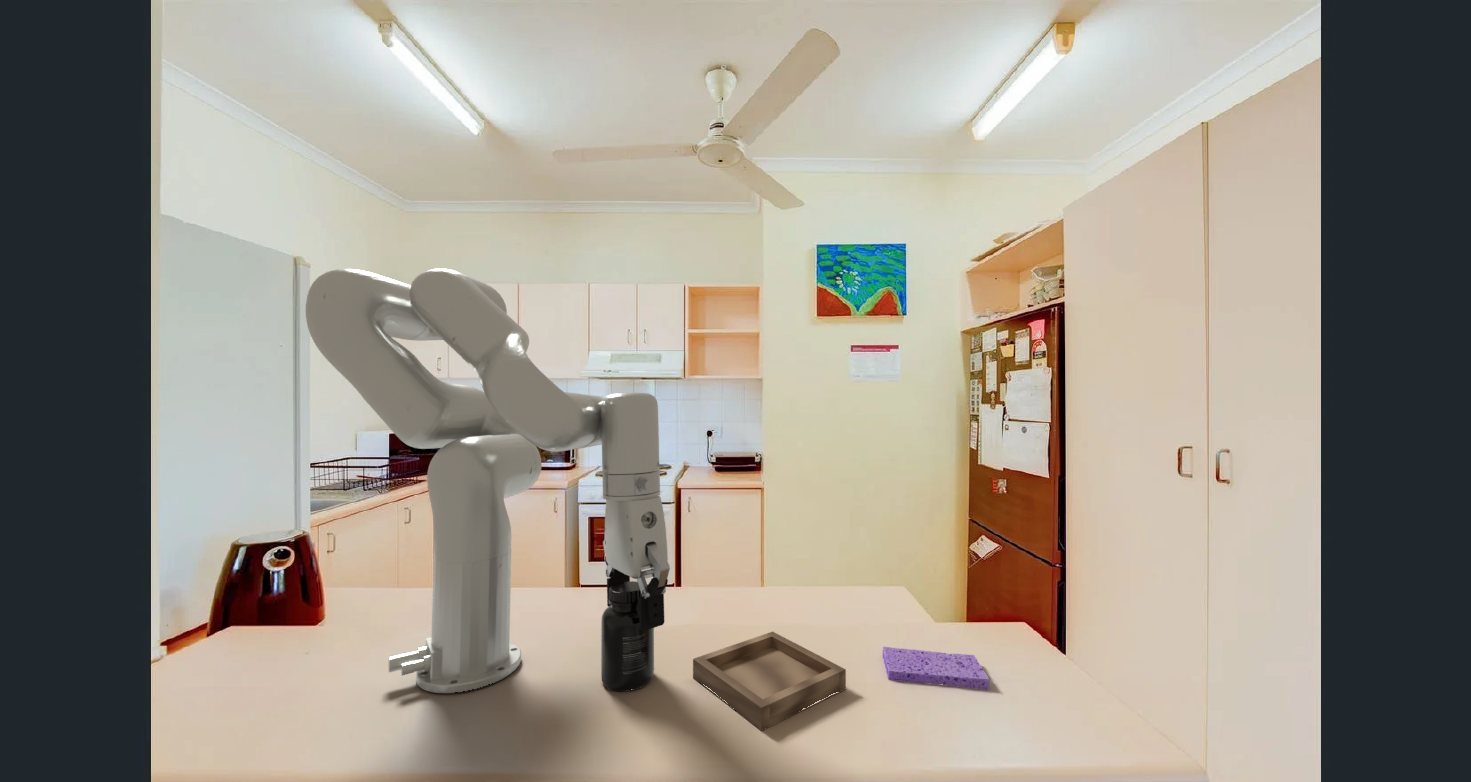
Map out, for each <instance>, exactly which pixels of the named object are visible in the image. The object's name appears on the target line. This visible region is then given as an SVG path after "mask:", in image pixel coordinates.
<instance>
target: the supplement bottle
mask: <svg viewBox="0 0 1471 782" xmlns="http://www.w3.org/2000/svg"><path fill="white" fill-rule="evenodd" d="M639 597H642V594H641V591H640V588H639V585H638V582H637V580H636V581H631V580H630V581H628V582H621V583H617V584H614V585H612V586H611V587H610V590H609V604H610V606H609V607H608V606H607V608H605V609H604V611H603V613H602V615H601V625H600V626H601V628H600V629H601V633H600V634H601V637H600V638H601V639H600V641H601V648H600V651H601V653H600V654H601V655H600V656H601V658H600V659H601V664H600V665H601V666H600V667H601V668H600V669H601V675H600V676H601V682H602V684H603V686H605V687H606V688H607V689H608V690H611V691H614V690H616V692H627V691H626V690H631V689H635V690H638V689H641V688H643V687H645V686H647V685H648V684H649V683H650V682H651V681H652V679H653V677H654V676H655V675H654V674H655V672H654V671H655V628H651V629H648V630H645V631H642V630H641V629H640V626H639ZM644 685H645V686H644ZM642 686H643V687H642ZM640 687H641V688H640ZM637 688H638V689H637ZM631 691H632V690H631Z"/></svg>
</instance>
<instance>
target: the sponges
mask: <svg viewBox="0 0 1471 782" xmlns="http://www.w3.org/2000/svg"><path fill="white" fill-rule="evenodd" d="M883 659H884V660H883ZM882 660H883V664H884V667H885V669H886V671H885V672H886V675H887V680H888V681H898V682H907V683H908V682H909V683H917V684H926V683H932V684H931V685H936V684H943V685H942V686H945V685H947V686H946V687H959V688H965V689H975V690H983V691H984V690H985V691H989V690H990V678H989V677H988V675H987V673H986V672H985V670H983V667H982V665H981V664H980V662H979V661H978V658H977V657H976V656H975V654H966V653H965V654H962V653H946V652H941V651H930V650H921V649H913V648H912V649H910V648H900V647H890V646H882ZM934 683H935V684H934ZM948 685H949V686H948Z"/></svg>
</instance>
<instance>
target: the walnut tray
mask: <svg viewBox="0 0 1471 782" xmlns="http://www.w3.org/2000/svg"><path fill="white" fill-rule="evenodd" d="M846 673H847V670H846V668H844V667H843V666H841V665H838V664H836V663H834V662H832V661H830V660H829V659H826V658H825V657H822V655H821V656H820V655H819V654H817V653H816V652H813V651H811V650H809V649H807V648H805V647H803V646H801V645H799V644H798V643H796V642H794V641H792V640H790V639H788V638H786V637H785V636H782V635H780V634H778V633H776V632H775V631H770V632H768V633H764V634H761V635H759V636H755V637H753V638H749V639H747V640H743V641H741V642H737V643H735V644H732V645H730V646H729V645H728V646H727V647H723V648H720V649H718V650H715V651H712V652H709V653H706V654H703V655H700V656H697V657H694V658H693V659H692V678H693V679H694V680H695V681H696V682H697V683H699V682H700V683H702V684H704V685H705V686H707V687H708V688H710V689H711V690H712V691H713V692H715V693H716V694H717V695H718V696H719V697H721V698H722V699H723V700H725V701H726V702H727V703H728V704H729V705H730V706H731V707H732V708H734V709H735V710H736V711H737V712H738V713H737V712H736V711H735V710H734V709H733V710H734V711H735V712H736V713H737V714H738V715H740V716H741V717H743V718H744V719H745V720H746V721H748V722H749V723H750V724H751V725H753V726H754V727H756V728H757V729H758V730H759V731H760V732H762V731H764V730H767V729H768V728H771V727H772V726H775V725H776V724H779V723H780V722H783V721H785V720H787V719H789V718H791V717H794V716H795V715H797V714H799V713H800V712H799V711H801V710H802V709H803V708H807V707H808V706H810V705H812V704H814V703H815V702H817V701H819V700H822V699H824V698H826V697H828V696H829V695H831V694H833V693H836V692H840V691H841V690H844V689H845V688H846V687H847V686H846V685H847V683H846V682H847V679H846V678H847V676H846V675H847V674H846ZM700 683H699V684H700ZM846 689H847V688H846ZM844 691H845V690H844ZM840 693H841V692H840ZM730 706H729V707H730ZM731 707H730V708H731ZM732 708H731V709H732ZM807 709H808V708H807ZM798 712H799V713H798ZM801 712H802V711H801ZM794 714H795V715H794ZM790 716H791V717H790Z"/></svg>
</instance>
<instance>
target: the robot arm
mask: <svg viewBox="0 0 1471 782" xmlns="http://www.w3.org/2000/svg"><path fill="white" fill-rule="evenodd" d="M306 295H307V296H306V300H305V301H306V303H305V318H306V320H305V321H306V325H307V329H308V332H309V334H310V335H309V336H310V337H311V339H312V341H313V343H314V345H315V346H316V348H317V349H318V350H319V352H320V353H321V355H322V356H323V357H324V358H325V359H326V360H327V362H329V363H330V364H331V366H332V367H333V368H334V369H335V370H336V371H337V372H338V373H339V374H340V375H342V376H343V377H344V379H346V380H347V381H348V382H349V383H350V384H351V385H352V387H354V388H355V390H356V391H357V392H358V393H359V394H360V396H361V397H362V398H363V400H364V401H365V402H366V403H367V405H369V406H370V408H371V409H372V410H373V411H374V412H375V413H376V415H377V416H379V418H380V419H381V420H382V421H383V422H384V423H385V425H386V426H387V428H389V429H390V430H391V432H393V434H394V435H395V436H396V437H397V438H398V439H399V440H400V441H401V442H403V443H404V444H405V445H407V446H408V447H412V448H414V449H421V450H426V449H438V450H437V452H436V453H435V454H434V455H433V457H432V459H431V460H430V462H429V465H428V469H427V476H426V481H427V484H426V485H427V490H428V491H427V492H428V496H429V501H430V502H429V503H430V506H431V514H432V523H433V527H432V528H433V552H432V553H433V555H432V556H433V557H432V559H433V568H432V569H433V573H432V576H433V577H432V602H431V603H432V604H431V605H432V606H431V607H432V609H431V613H432V614H431V636H429V637H426V638H425V645H421V646H418V647H417V649H416V650H413V651H409V652H402V653H397V654H393V655H389V656H388V673H392V672H396V671H400V673H401V676H406V675H409V674H413V673H415V672H416V676H415V678H416V679H415V681H416V684H417V686H418V687H420V689H422V690H424V691H427V692H430V693H434V694H456V693H455V692H458V693H463V691H465V692H469V691H468V690H470V691H473V690H472V689H474V690H477V688H478V689H481V688H483V687H482V686H485V687H487V686H489V685H488V684H490V685H492V683H493V684H495V683H497V682H500V681H501V680H503V679H505V678H507V677H508V676H509V675H511V674H512V673H513V672H514V671H515V670H516V669H517V668H518V667H519V666H520V663H521V661H522V652H521V651H522V650H521V649H520V647H519V646H518V645H516V644H514V643H512V642H510V639H511V638H510V635H511V634H510V631H511V626H510V625H511V593H512V592H511V590H512V589H511V588H512V586H511V585H512V584H511V583H512V582H511V581H512V579H511V578H512V527H511V521H510V518H509V517H510V516H509V514H508V511H507V508H506V504H505V500H504V499H506V498H510V497H514V496H516V495H519V494H522V493H523V492H526V491H527V490H529V489H531V487H533V486H534V485H535V483H536V482H537V481H538V480H539V477H540V475H541V471H542V457H541V455H540V451H539V449H541V450H544V451H548V452H554V453H555V452H557V453H558V452H565V451H570V450H578V449H585V448H591V447H597V446H601V466H602V469H601V472H602V499H603V500H605V511H604V512H605V513H604V514H605V515H604V540H603V541H602V545H603V551H604V559H603V560H604V562H605V564H606V568H605V576H606V596H607V597H606V603H607V605H606V606H607V608H608V607H609V606H610V604H609V590H610V587H611V586H612V585H614V584H617V583H621V582H628V581H631V579H630V578H632V579H635V580H636V582H638V585H639V588H640V591H641V594H642V597H639V626H640V629H641V630H642V631H645V630H648V629H651V628H654V629H655V628H657V627H661V626H663V625H664V624H665V598H664V597H665V596H664V595H665V594H666V591H667V589H666V586H668V582H669V581H668V580H669V579H668V578H669V574H670V569H671V567H670V563H669V557H668V556H669V555H668V553H669V552H668V541H667V528H666V519H665V513H664V507H663V502H662V497H661V483H660V482H661V474H660V473H661V472H660V438H659V437H660V434H659V431H660V430H659V429H660V428H659V405H658V401H657V398H656V397H655V396H654V395H653V394H651V393H647V392H621V393H620V392H618V393H610V394H607V395H606V396H600V395H592V394H584V393H583V394H582V393H575V392H565V391H564V390H562V389H561V388H560V387H558V385H557V384H555V383H554V382H553V381H552V380H550V379H549V377H547V376H546V375H545V374H544V372H542V371H541V370H540V369H539V368H538V367H537V366H536V365H535V364H534V363H533V362H532V360H531V359H530V358H529V356H528V355H527V351H528V349H529V345H530V338H529V334H528V332H526V330H525V329H524V328H523V327H522V326H520V325H519V324H518V323H517V322H516V321H515V320H514V319H513V318H511V317H510V315H509V314H508V312H507V311H508V310H507V306H506V303H505V300H504V299H503V296H502V295H501V294H500V293H499V292H498V291H497V290H496V289H495V288H493V287H492V286H490V285H489V284H487V283H484V282H482V281H481V280H477V279H475V278H473V277H470V276H468V275H466V274H464V273H462V272H458V271H456V270H453V269H448V268H433V269H429V270H425V271H423V272H421V273H420V274H418V275H417V276H416V277H415V278H414V279H413V280H412V282H411V284H407V283H405V282H401V281H398V280H395V279H392V278H390V277H386V276H384V275H380V274H378V273H374V272H371V271H365V270H361V269H354V268H340V269H338V268H337V269H333V270H330V271H326V272H324V273H322V274H321V275H319V276H318V277H317V278H316V279H315V280H314V281H313V282H312V284H311V285H310V287H309V290H308V292H307V294H306ZM394 338H395V339H394ZM396 339H401V340H407V341H416V342H417V341H420V342H421V341H422V342H423V341H424V342H425V341H444V342H445V343H446V344H448V345H449V347H450V348H451V349H453V350H454V352H456V354H458V355H459V356H460V357H461V359H462V360H463V361H465V363H467V364H468V366H470V367H471V369H473V370H474V371H475V372H476V374H477V375H478V378H479V379H478V381H479V383H480V386H481V389H482V390H481V389H479V388H476V387H474V386H470V385H466V384H456V383H448V382H445V381H442V380H440V379H438V378H437V377H436V376H435V375H433V373H431V372H430V371H429V370H428V369H427V368H426V367H425V366H424V365H423V364H422V362H421V361H420V360H419V359H418V357H417V356H416V355H414V354H413V352H411V351H410V350H409V349H408V348H406V347H405V346H404V345H402V344H401V343H399V342H398V341H397V340H396ZM538 448H539V449H538ZM649 578H651V580H650V581H649V582H648V583H647V581H646V579H649ZM486 685H487V686H486ZM480 687H481V688H480Z"/></svg>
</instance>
